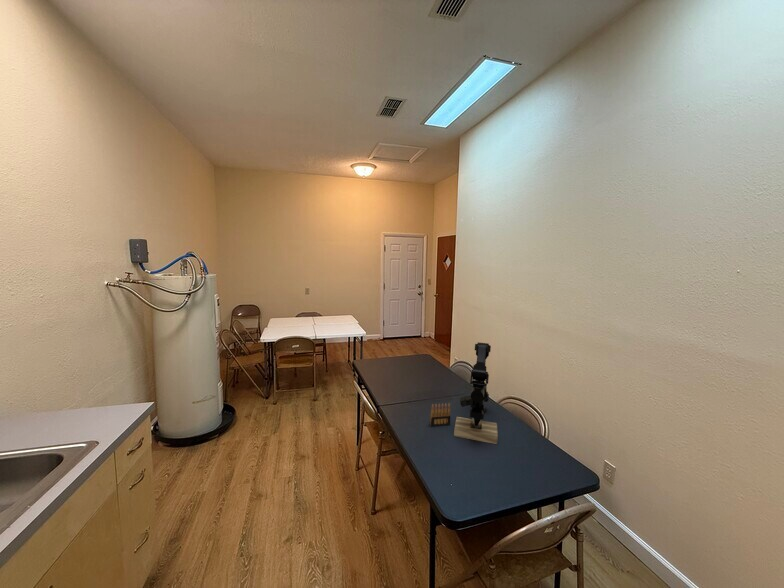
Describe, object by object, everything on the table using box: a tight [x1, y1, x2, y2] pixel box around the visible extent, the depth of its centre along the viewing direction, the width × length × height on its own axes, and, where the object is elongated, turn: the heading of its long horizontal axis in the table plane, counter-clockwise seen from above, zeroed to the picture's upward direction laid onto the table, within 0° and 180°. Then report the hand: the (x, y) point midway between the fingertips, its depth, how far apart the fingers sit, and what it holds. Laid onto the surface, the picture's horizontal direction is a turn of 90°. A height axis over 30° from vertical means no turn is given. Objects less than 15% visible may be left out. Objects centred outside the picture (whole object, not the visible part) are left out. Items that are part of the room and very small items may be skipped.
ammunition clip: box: [429, 402, 451, 428], centre depth 164 cm, size 11×2×12 cm, turn 100°
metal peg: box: [471, 418, 482, 429], centre depth 157 cm, size 4×4×10 cm
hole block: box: [453, 416, 499, 445], centre depth 158 cm, size 12×20×4 cm, turn 73°
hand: (476, 423), depth 158 cm, fingers closed on metal peg, 4 cm apart
